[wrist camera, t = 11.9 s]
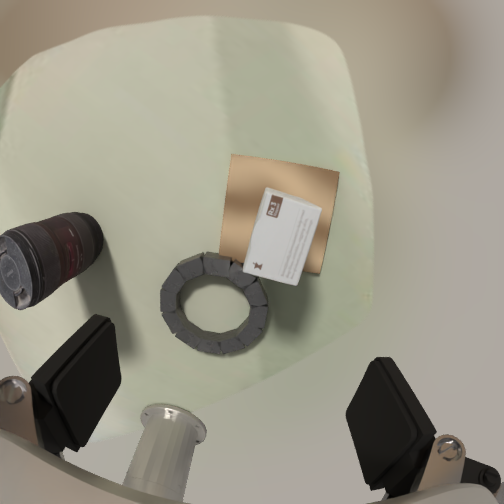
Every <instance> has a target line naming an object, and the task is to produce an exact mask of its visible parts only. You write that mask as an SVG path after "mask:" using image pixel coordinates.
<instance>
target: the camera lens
mask: <svg viewBox="0 0 504 504" xmlns="http://www.w3.org/2000/svg"><path fill="white" fill-rule="evenodd" d="M102 246H103V235H102V231H101V228H100V226H99V224H98V223H97V221H96V220H95V219H94V218H93V217H92V216H90V215H88V214H85V213H78V212H71V213H63V214H60V215H57V216H53V217H51V218H49V219H45V220H42V221H39V222H33V223H28V224H25V225H22V226H19V227H16V228H13V229H10V230H7V231H6V232H4V233H3V234H2V235H0V294H1V296H2V297H3V298H4V300H5V301H6V302H7V303H8V304H9V305H10V306H12V307H13V308H15V309H18V310H24V309H26V308H28V307H32V306H35V305H36V304H38V303H39V302H41V301H42V300H44V299H45V298H46V297H48V296H49V295H51V294H52V293H53V292H54V291H55V290H56V289H58V288H59V287H60V286H61V285H62V284H64V283H65V282H67V281H68V280H70V279H72V278H74V277H76V276H77V275H79V274H80V273H82V272H83V271H85V270H86V269H87V268H88V267H89V266H90V265H92V264H93V263H94V261H95V260H96V258H97V257H98V255H99V254H100V252H101V250H102Z"/></svg>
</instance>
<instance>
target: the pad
mask: <svg viewBox="0 0 504 504" xmlns="http://www.w3.org/2000/svg"><path fill="white" fill-rule="evenodd" d="M338 178H339V172H337V171H332V170H328V169H323V168H318V167H313V166H307V165H302V164H296V163H291V162H285V161H279V160H272V159H265V158H259V157H251V156H244V155H235V154H231V161H230V168H229V175H228V183H227V190H226V198H225V206H224V214H223V222H222V231H221V239H220V248H219V255H222V256H228V257H232V258H231V261H234V260H235V259H237V260H238V261H239V262H241V263H244V262H245V258H246V254H247V250H248V246H249V242H250V238H251V234H252V230H253V227H254V223H255V220H256V216H257V213H258V210H259V206H260V203H261V200H262V197H263V194H264V191H265V189H266V187H268V188H271V189H274V190H277V191H281V192H284V193H287V194H290V195H293V196H296V197H300V198H302V199H304V200H306V201H308V202H310V203H312V204H314V205H317V206H319V207H320V208H322V212H321V215H320V218H319V222H318V225H317V228H316V231H315V234H314V237H313V240H312V243H311V247H310V250H309V253H308V256H307V259H306V261H305V264H304V267H303V270H302V271H305V272H312V273H319V274H320V270H321V266H322V261H323V257H324V252H325V248H326V243H327V238H328V233H329V228H330V223H331V218H332V212H333V207H334V202H335V196H336V190H337V184H338Z"/></svg>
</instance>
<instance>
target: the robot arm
mask: <svg viewBox="0 0 504 504" xmlns="http://www.w3.org/2000/svg"><path fill="white" fill-rule="evenodd" d="M31 379H32V380H31V381H30V382H29V383H28V382H27V381H26V380H25V379H24V378H22V377H19V376H9V377H5V378H3V379H2V380H0V504H189V503H184V502H183V497H184V492H185V488H186V483H187V479H188V474H189V470H190V465H191V461H192V456H193V452H194V447H195V445H197V444H200V443H201V442H203V441H204V439H205V437H206V427H205V425H204V424H203V423H202V421H201V420H200V419H198V418H197V417H196V416H195V415H193V414H191V413H190V412H188V411H186V410H184V409H181V408H178V407H175V406H171V405H165V404H155V405H150V406H147V407H146V408H145V409H144V410H143V411H142V414H141V418H140V419H141V422H142V424H143V426H144V427H145V429H144V431H143V434H142V436H141V438H140V441H139V443H138V446H137V448H136V451H135V454H134V456H133V459H132V461H131V464H130V467H129V469H128V472H127V474H126V477H125V479H124V482H123V485H120V484H118V483H115V482H112V481H109V480H107V479H105V478H102V477H100V476H97V475H95V474H93V473H90V472H88V471H86V470H83V469H81V468H79V467H77V466H75V465H73V464H71V463H69V462H67V461H65V459H64V455H63V450H64V448H65V447H67V448H69V449H71V450H73V451H75V452H78V450H79V448H80V447H84V446H85V445H86V444H87V442H88V440H89V438H90V436H91V435H92V433H93V431H94V429H95V428H96V426H97V424H98V422H99V421H100V419H101V417H102V415H103V414H104V412H105V410H106V408H107V407H108V405H109V403H110V402H111V400H112V398H113V397H114V395H115V393H116V392H117V390H118V388H119V386H120V384H121V372H120V365H119V358H118V351H117V343H116V334H115V325H114V323H111V320H110V318H108V317H104V316H101V315H97V314H95V315H93V316H92V317H91V318H90V319H89V320H88V321H87V322H86V323H85V324H84V325H83V326H82V327H80V328H79V329H78V330H77V331H76V332H75V333H74V334H73V335H72V336H71V337H70V338H69V339H68V340H67V341H66V342H65V343H64V344H63V345H62V346H61V347H60V348H59V349H58V350H57V351H56V352H55V353H54V354H53V355H52V356H51V357H50V358H49V359H48V360H47V361H46V362H45V363H44V364H43V365H42V366H41V367H40V368H39V369H38V370H37V371H36V372H35V373H34V375H33V376H32V377H31ZM346 419H347V422H348V426H349V429H350V432H351V436H352V439H353V441H354V446H355V449H356V452H357V456H358V459H359V462H360V466H361V469H362V473H363V477H364V480H365V483H366V484H369V486H370V490H371V491H372V490H377V489H382V488H384V487H385V490H386V493H385V495H384V497H383V498H382V500H381V501H378V502H373V503H368V504H504V482H502V483H501V478H500V475H499V473H498V471H497V470H496V469H495V468H493V467H491V466H488V465H485V464H482V463H480V462H477V461H475V460H472V459H469V458H467V457H465V455H466V451H465V447H464V444H463V443H462V442H461V441H460V440H459V439H458V438H457V437H454V436H453V435H448V434H447V435H441V436H439V437H438V438H436V439H435V437H434V434H436V432H437V431H436V429H435V428H434V426H433V424H432V422H431V421H430V419H429V417H428V415H427V414H426V412H425V410H424V409H423V407H422V405H421V404H420V402H419V400H418V399H417V397H416V396H415V394H414V392H413V391H412V389H411V387H410V386H409V384H408V383H407V381H406V380H405V378H404V376H403V375H402V373H401V372H400V370H399V368H398V367H397V366H396V364H395V362H394V361H393V359H392V358H390V357H377V358H375V359H374V361H371V362H370V364H369V366H368V368H367V370H366V372H365V375H364V377H363V379H362V381H361V383H360V385H359V387H358V389H357V391H356V393H355V395H354V397H353V399H352V401H351V403H350V404H349V406H348V408H347V410H346Z"/></svg>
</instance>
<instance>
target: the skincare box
mask: <svg viewBox="0 0 504 504" xmlns="http://www.w3.org/2000/svg"><path fill="white" fill-rule="evenodd" d="M321 212H322V208H320V207H319V206H317V205H314V204H312V203H310V202H308V201H306V200H304V199H302V198H300V197H296V196H293V195H290V194H287V193H284V192H281V191H277V190H274V189H271V188H268V187H266V189H265V191H264V194H263V197H262V200H261V203H260V206H259V210H258V213H257V216H256V220H255V223H254V227H253V230H252V234H251V238H250V242H249V246H248V250H247V254H246V258H245V262H244V266H243V272H244V273H248V274H252V275H256V276H259V277H263V278H267V279H270V280H274V281H278V282H282V283H286V284H290V285H294V286H297V285H298V282H299V279H300V276H301V273H302V270H303V267H304V264H305V261H306V259H307V256H308V253H309V250H310V247H311V243H312V240H313V237H314V234H315V231H316V228H317V225H318V222H319V218H320V215H321Z"/></svg>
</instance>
